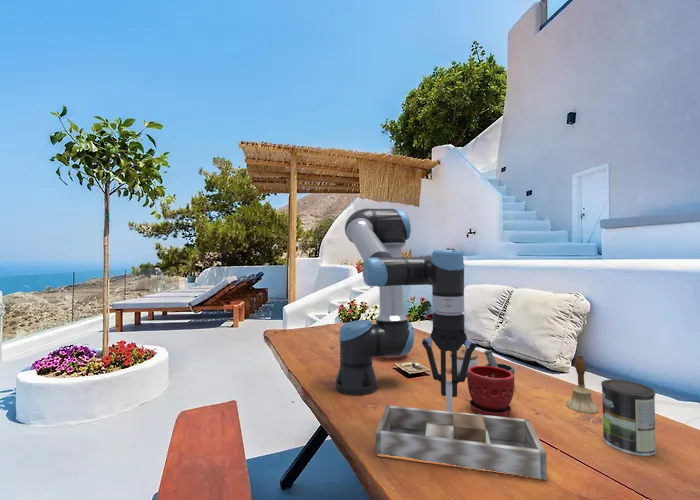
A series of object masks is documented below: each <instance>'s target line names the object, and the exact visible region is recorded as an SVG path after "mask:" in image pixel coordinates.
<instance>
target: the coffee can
mask: <svg viewBox="0 0 700 500" xmlns="http://www.w3.org/2000/svg"><path fill="white" fill-rule="evenodd" d="M601 392H602V394H601V395H602V431H603V432H602V433H603V434H602V435H603V436H602V439H603V441H604V443H605V444H607V445H608V446H609V447H611V448H613V449H615V450H617V451H620V452H622V453H625V454H628V455H632V454H633V455H632V456H637V455H638V456H639V457H651V455H652V456H654V454H655V453H656V454H657V445H656V443H657V440H656V438H657V437H656V406H655V402H656V401H655V396H656V391H655V390H654V388H652V387H649V386H647V385H645V384H642V383H638V382H635V381H630V380H629V381H628V380H624V379H605V380H602V381H601ZM656 454H655V455H656ZM638 456H637V457H638Z"/></svg>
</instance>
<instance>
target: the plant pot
mask: <svg viewBox="0 0 700 500" xmlns="http://www.w3.org/2000/svg"><path fill="white" fill-rule="evenodd" d="M492 374H494V375H495V376H494V377H492V376H491V375H492ZM487 376H488V377H487ZM500 377H501V378H500ZM466 378H467V379H466V381H467V386H468V387H467V388H468V393H469V396H470V399H471V400H469V406H470V408H471V409H472V410H473V411H474V412H475V413H477V414H478V415H488V416H498V417H508V415H510V413H511V412H512V407H511V405H510V404H511V403H512V400H513V397H514V392H515V374H513V373H512V372H510V371H508V370H505V369H502V368H498V367H492V366H485V365H477V366H473V367H470V368H468V372H467V375H466Z"/></svg>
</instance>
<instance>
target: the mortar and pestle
mask: <svg viewBox="0 0 700 500" xmlns="http://www.w3.org/2000/svg"><path fill="white" fill-rule="evenodd" d="M483 354H484V356H486V359H487V362H488V363H487V364H484V366H492V367H498V368H502V369H505V370H508V371H510V372H512V373H513V374H514V375H515V370H516V369H515V368H514V367H513V366H511V365H508V364H505V363H498V362H497V361H496V359H495V357H494V354H493V351H492V349H487V350H485V351H484V352H483ZM491 376H492V377H494V376H495V375H494V374H492V375H491ZM486 377H488V376H486ZM500 378H501V377H500Z"/></svg>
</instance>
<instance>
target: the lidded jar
mask: <svg viewBox="0 0 700 500" xmlns="http://www.w3.org/2000/svg"><path fill="white" fill-rule="evenodd" d="M465 351H466V348H465V349H464V348H462V349H459V350H458V351H457V375H460V371H461V367H462V363H463V359H464V355H465ZM478 357H479V354H478V353H477V352H475V351H473V352H472V354H471V358H470V362H469V366H468V368H470V367H473V366H478V364H479V363H478V359H479V358H478ZM449 359H450V362H449V363H450V365H451V367H452V356H451V351H449ZM467 372H468V370H467ZM466 376H467V374H466Z"/></svg>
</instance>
